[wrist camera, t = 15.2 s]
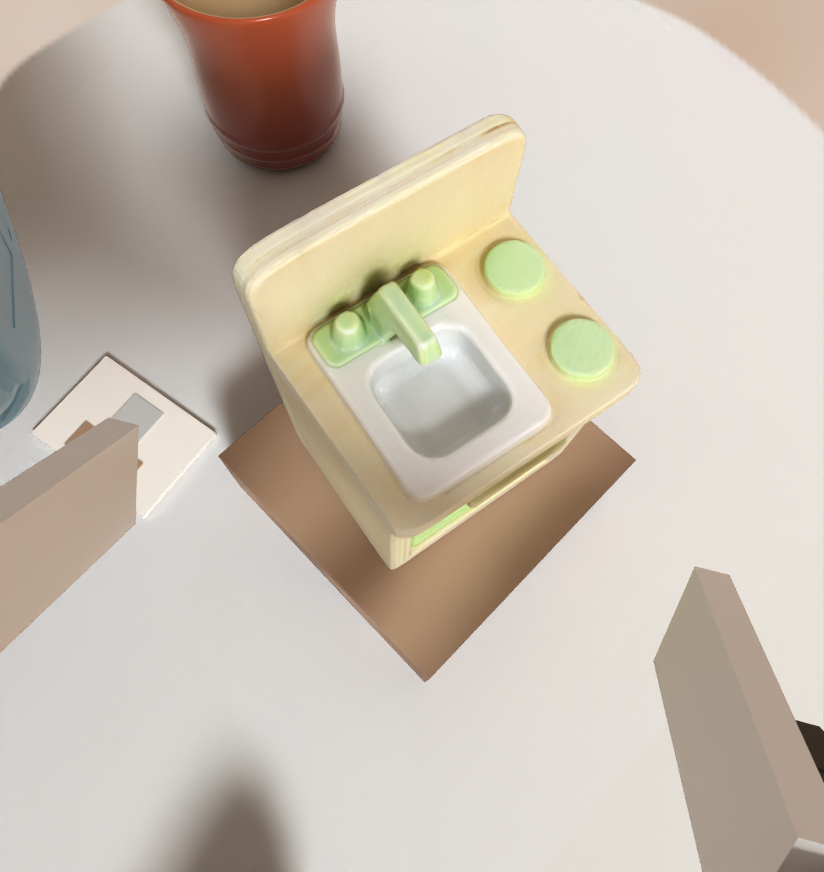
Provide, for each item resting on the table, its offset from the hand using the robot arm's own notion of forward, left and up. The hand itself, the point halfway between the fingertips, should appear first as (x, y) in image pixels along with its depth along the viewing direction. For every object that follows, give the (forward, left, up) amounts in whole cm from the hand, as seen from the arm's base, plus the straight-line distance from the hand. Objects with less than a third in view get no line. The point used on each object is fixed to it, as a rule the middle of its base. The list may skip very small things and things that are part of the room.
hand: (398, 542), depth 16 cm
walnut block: (-2, +5, -16) cm, 17 cm away
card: (-15, -1, -15) cm, 22 cm away
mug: (-22, +19, -15) cm, 33 cm away
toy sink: (-2, +6, -11) cm, 12 cm away
